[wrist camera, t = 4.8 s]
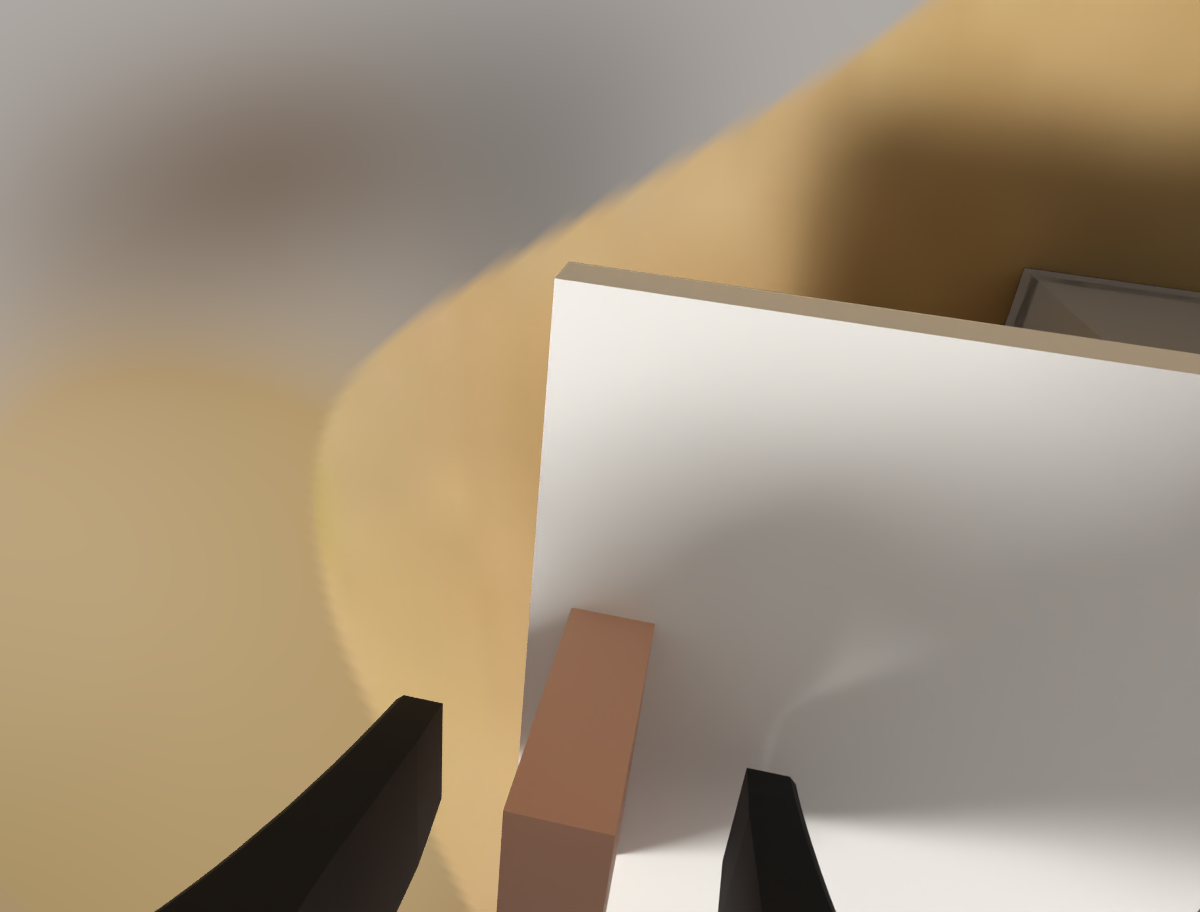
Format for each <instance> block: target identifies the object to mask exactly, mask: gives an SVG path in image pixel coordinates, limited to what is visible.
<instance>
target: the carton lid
mask: <svg viewBox="0 0 1200 912" xmlns="http://www.w3.org/2000/svg"><path fill="white" fill-rule="evenodd" d="M747 768H751V769H756V770H761V771H765V772H770V773H775V774H780V775H784V776H789V777H791V779H792V780H793V781H794V783H795V784H796V787H797V792H798V796H799V800H800V804H801V808H802V811H803V815H804V819H805V822H806V826H807V829H808V832H809V835H810V839H811V842H812V845H813V848H814V851H815V854H816V857H817V860H818V863H819V866H820V869H821V872H822V875H823V878H824V881H825V884H826V886H827V889H828V892H829V895H830V897H831V900H832V902H833V905H834V908H835V910H836V912H1198V910H1199V909H1200V354H1195V353H1188V352H1181V351H1174V350H1167V349H1161V348H1154V347H1147V346H1140V345H1133V344H1127V343H1120V342H1113V341H1106V340H1099V339H1093V338H1086V337H1079V336H1072V335H1065V334H1059V333H1052V332H1045V331H1038V330H1031V329H1025V328H1018V327H1011V326H1004V325H997V324H991V323H984V322H977V321H970V320H963V319H957V318H950V317H943V316H936V315H929V314H923V313H916V312H909V311H902V310H895V309H889V308H882V307H875V306H868V305H861V304H855V303H848V302H841V301H834V300H827V299H821V298H814V297H807V296H800V295H793V294H787V293H780V292H773V291H766V290H759V289H753V288H746V287H739V286H732V285H725V284H719V283H712V282H705V281H698V280H691V279H685V278H678V277H671V276H664V275H657V274H651V273H644V272H637V271H630V270H623V269H617V268H610V267H603V266H596V265H589V264H583V263H576V262H568V263H567V265H566V266H565V267H564V268H563V269H562V270H561V272H560V273H559V274H558V275H557V276H556V278H555V282H554V296H553V309H552V322H551V336H550V349H549V363H548V376H547V389H546V403H545V416H544V429H543V443H542V456H541V470H540V483H539V496H538V510H537V523H536V536H535V550H534V563H533V577H532V590H531V603H530V617H529V630H528V643H527V657H526V670H525V684H524V697H523V710H522V724H521V737H520V750H519V764H518V769H517V772H516V775H515V778H514V781H513V783H512V786H511V789H510V792H509V795H508V798H507V801H506V804H505V807H504V810H503V823H502V838H501V854H500V869H499V885H498V900H497V912H718V905H719V894H720V882H721V871H722V861H723V857H724V853H725V849H726V845H727V842H728V838H729V834H730V830H731V826H732V822H733V819H734V815H735V811H736V807H737V803H738V799H739V796H740V792H741V788H742V784H743V780H744V776H745V773H746V769H747Z"/></svg>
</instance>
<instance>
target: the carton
mask: <svg viewBox="0 0 1200 912" xmlns="http://www.w3.org/2000/svg"><path fill="white" fill-rule="evenodd" d="M1005 326H1011V327H1018V328H1025V329H1031V330H1038V331H1045V332H1052V333H1059V334H1065V335H1072V336H1079V337H1086V338H1093V339H1099V340H1106V341H1113V342H1120V343H1127V344H1133V345H1140V346H1147V347H1154V348H1161V349H1167V350H1174V351H1181V352H1188V353H1195V354H1200V292H1193V291H1186V290H1179V289H1172V288H1165V287H1157V286H1150V285H1143V284H1136V283H1129V282H1122V281H1114V280H1107V279H1100V278H1093V277H1086V276H1079V275H1071V274H1064V273H1057V272H1050V271H1043V270H1035V269H1028V268H1024V271H1023V274H1022V277H1021V280H1020V283H1019V286H1018V289H1017V292H1016V295H1015V297H1014V300H1013V303H1012V306H1011V309H1010V312H1009V315H1008V318H1007V321H1006V323H1005ZM1198 912H1200V909H1199V910H1198Z"/></svg>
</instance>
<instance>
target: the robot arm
mask: <svg viewBox="0 0 1200 912" xmlns="http://www.w3.org/2000/svg"><path fill="white" fill-rule="evenodd" d="M442 713H443V703H438V702H433V701H428V700H424V699H419V698H414V697H409V696H405V695H403V696H402V697H400V698H398V699H396V701H395V702H394V703H393V704H392V705H391V706H390V707H389V708H388V709H387V710H386V711H385V712H384V713H383V714H382V715H381V717H380V718H379V719H378V720H377V721H376V722H375V723H374V724H373V725H372V726H371V727H370V728H369V729H368V730H367V731H366V732H365V733H364V734H363V735H362V736H361V737H360V738H359V739H358V740H357V741H356V742H355V743H354V744H353V745H352V746H351V747H350V748H349V749H348V750H347V751H346V752H345V753H344V754H343V755H342V756H341V757H340V758H339V759H338V760H337V761H336V762H335V763H334V764H333V765H332V766H331V767H330V768H329V769H327V771H325V772H324V773H323V774H322V775H321V776H320V777H319V778H318V779H317V780H316V781H315V782H313V784H311V785H310V786H309V787H308V788H307V789H306V790H305V791H304V792H303V793H302V794H301V795H300V796H298V797H297V798H296V799H295V800H294V801H293V802H292V803H291V804H290V805H289V806H288V807H286V808H285V809H284V810H283V811H282V812H281V813H279V814H278V815H277V816H276V817H275V818H273V819H272V820H271V821H270V822H269V823H268V824H266V825H265V826H264V827H263V828H262V829H261V830H259V831H258V832H257V833H256V834H255V835H254V836H252V837H251V838H250V839H249V840H248V841H246V842H245V843H244V844H243V845H242V846H241V847H239V848H238V849H237V850H236V851H235V852H233V853H232V854H231V855H229V857H227V858H226V859H224V860H223V861H222V862H221V863H219V864H218V865H217V866H216V867H214V868H213V869H212V870H210V871H209V872H208V873H207V874H205V875H204V876H203V877H201V878H200V879H199V880H197V881H196V882H195V883H193V884H192V885H191V886H189V887H188V888H187V889H185V890H184V891H183V892H181V893H180V894H179V895H177V896H176V897H175V898H173V899H172V900H170V901H169V902H168V903H166V904H165V905H164V906H162V907H161V908H159V909H158V910H157V911H155V912H397V910H398V908H399V906H400V904H401V901H402V899H403V897H404V895H405V893H406V891H407V889H408V886H409V884H410V882H411V880H412V878H413V876H414V873H415V871H416V869H417V867H418V864H419V861H420V859H421V856H422V853H423V850H424V847H425V845H426V842H427V839H428V836H429V833H430V830H431V827H432V824H433V822H434V819H435V816H436V813H437V810H438V807H439V804H440V801H441V793H442ZM718 912H836V910H835V908H834V905H833V902H832V900H831V897H830V895H829V892H828V889H827V886H826V884H825V881H824V878H823V875H822V872H821V869H820V866H819V863H818V860H817V857H816V854H815V851H814V848H813V845H812V842H811V839H810V835H809V832H808V829H807V826H806V822H805V819H804V815H803V811H802V808H801V804H800V800H799V796H798V792H797V787H796V784H795V783H794V781H793V780H792V779H791V777H789V776H784V775H780V774H775V773H770V772H765V771H761V770H756V769H751V768H747V769H746V773H745V776H744V780H743V784H742V788H741V792H740V796H739V799H738V803H737V807H736V811H735V815H734V819H733V822H732V826H731V830H730V834H729V838H728V842H727V845H726V849H725V853H724V857H723V861H722V871H721V882H720V894H719V905H718Z"/></svg>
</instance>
